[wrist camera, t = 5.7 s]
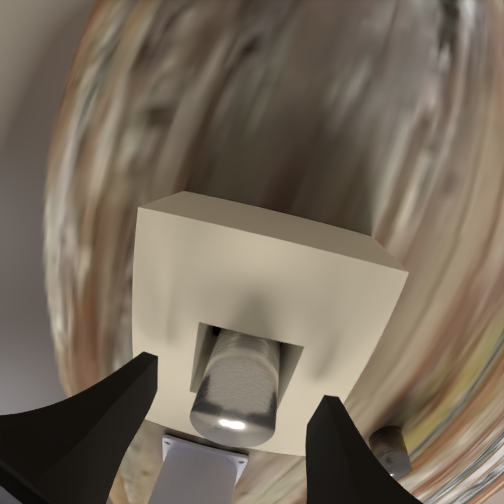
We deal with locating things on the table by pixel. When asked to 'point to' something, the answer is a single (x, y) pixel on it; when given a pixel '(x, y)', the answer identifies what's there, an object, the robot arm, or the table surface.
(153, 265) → the hole block
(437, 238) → the table surface
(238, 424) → the long pin
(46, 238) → the table surface
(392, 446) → the short pin
